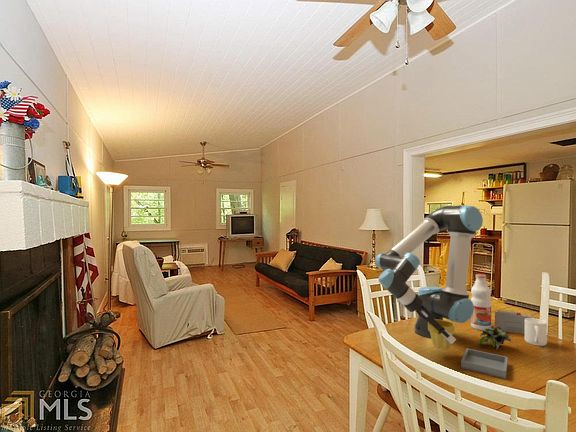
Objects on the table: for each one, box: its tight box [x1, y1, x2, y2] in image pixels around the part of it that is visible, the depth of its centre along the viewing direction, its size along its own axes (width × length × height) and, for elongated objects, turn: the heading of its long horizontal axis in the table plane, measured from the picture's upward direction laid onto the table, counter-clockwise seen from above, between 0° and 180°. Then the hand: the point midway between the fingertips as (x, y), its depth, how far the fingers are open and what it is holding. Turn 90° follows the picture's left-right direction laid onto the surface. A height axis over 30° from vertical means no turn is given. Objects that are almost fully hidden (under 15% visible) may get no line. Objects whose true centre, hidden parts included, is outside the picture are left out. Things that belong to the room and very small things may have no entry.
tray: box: [460, 347, 509, 380], centre depth 130 cm, size 15×15×3 cm
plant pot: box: [428, 319, 456, 350], centre depth 139 cm, size 10×10×10 cm
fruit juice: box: [470, 273, 492, 331], centre depth 173 cm, size 9×9×28 cm
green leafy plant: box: [477, 325, 513, 351], centre depth 148 cm, size 11×11×12 cm
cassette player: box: [494, 310, 534, 335], centre depth 167 cm, size 16×3×10 cm, turn 63°
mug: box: [524, 317, 548, 347], centre depth 151 cm, size 12×8×10 cm
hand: (448, 336), depth 139 cm, fingers closed on plant pot, 10 cm apart
